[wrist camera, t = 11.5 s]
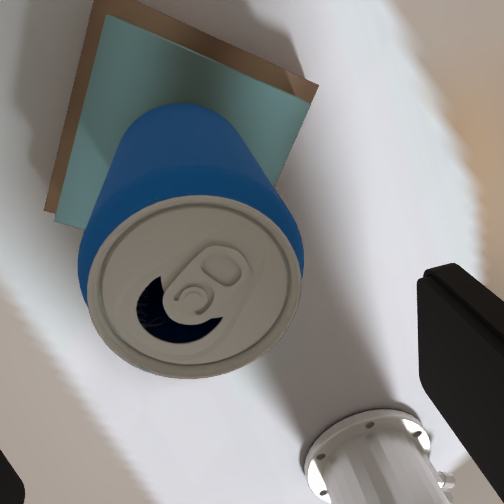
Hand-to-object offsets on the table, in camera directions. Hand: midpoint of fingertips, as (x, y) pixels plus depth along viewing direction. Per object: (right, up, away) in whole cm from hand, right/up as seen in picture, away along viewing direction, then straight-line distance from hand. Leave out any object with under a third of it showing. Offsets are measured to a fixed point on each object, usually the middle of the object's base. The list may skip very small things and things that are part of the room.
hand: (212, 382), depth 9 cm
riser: (-4, +10, +18) cm, 20 cm away
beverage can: (-3, +7, +13) cm, 15 cm away
